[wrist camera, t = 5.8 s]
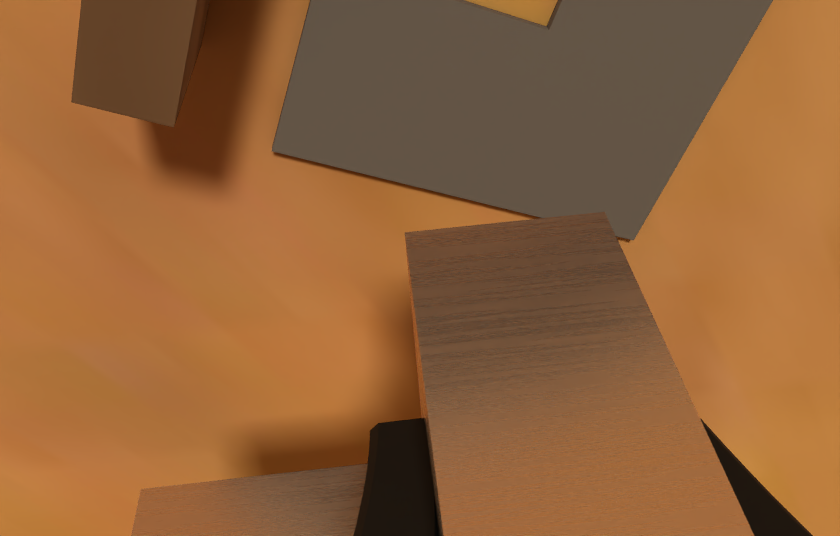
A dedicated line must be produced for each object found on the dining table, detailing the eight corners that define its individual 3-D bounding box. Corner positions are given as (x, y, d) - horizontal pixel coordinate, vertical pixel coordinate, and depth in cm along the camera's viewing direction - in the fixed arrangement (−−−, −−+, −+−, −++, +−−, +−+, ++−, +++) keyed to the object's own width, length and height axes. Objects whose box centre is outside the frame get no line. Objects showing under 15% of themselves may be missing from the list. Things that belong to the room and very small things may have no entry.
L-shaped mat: (851, -147, 14) (857, -145, 14) (630, 235, 19) (633, 240, 19) (398, -342, 12) (399, -341, 12) (272, 146, 17) (271, 150, 16)
